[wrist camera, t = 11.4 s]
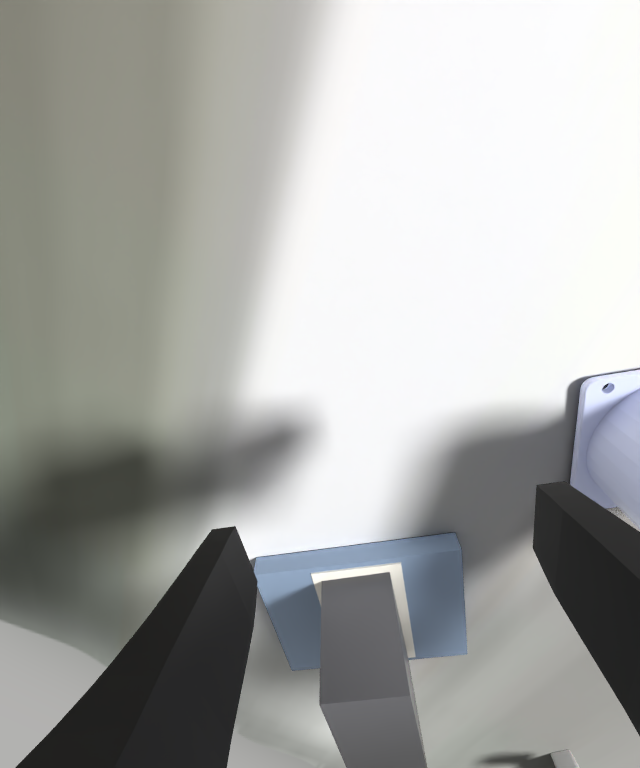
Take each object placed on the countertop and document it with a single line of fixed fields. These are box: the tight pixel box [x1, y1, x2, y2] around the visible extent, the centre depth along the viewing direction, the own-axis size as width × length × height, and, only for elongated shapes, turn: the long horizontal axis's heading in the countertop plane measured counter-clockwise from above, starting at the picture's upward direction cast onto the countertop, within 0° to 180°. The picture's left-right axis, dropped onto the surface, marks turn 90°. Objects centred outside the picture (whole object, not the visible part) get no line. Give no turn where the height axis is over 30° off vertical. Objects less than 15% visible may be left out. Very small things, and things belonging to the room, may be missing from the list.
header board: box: [254, 533, 467, 671], centre depth 23 cm, size 12×10×4 cm
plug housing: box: [320, 572, 427, 768], centre depth 21 cm, size 4×8×6 cm, turn 13°
